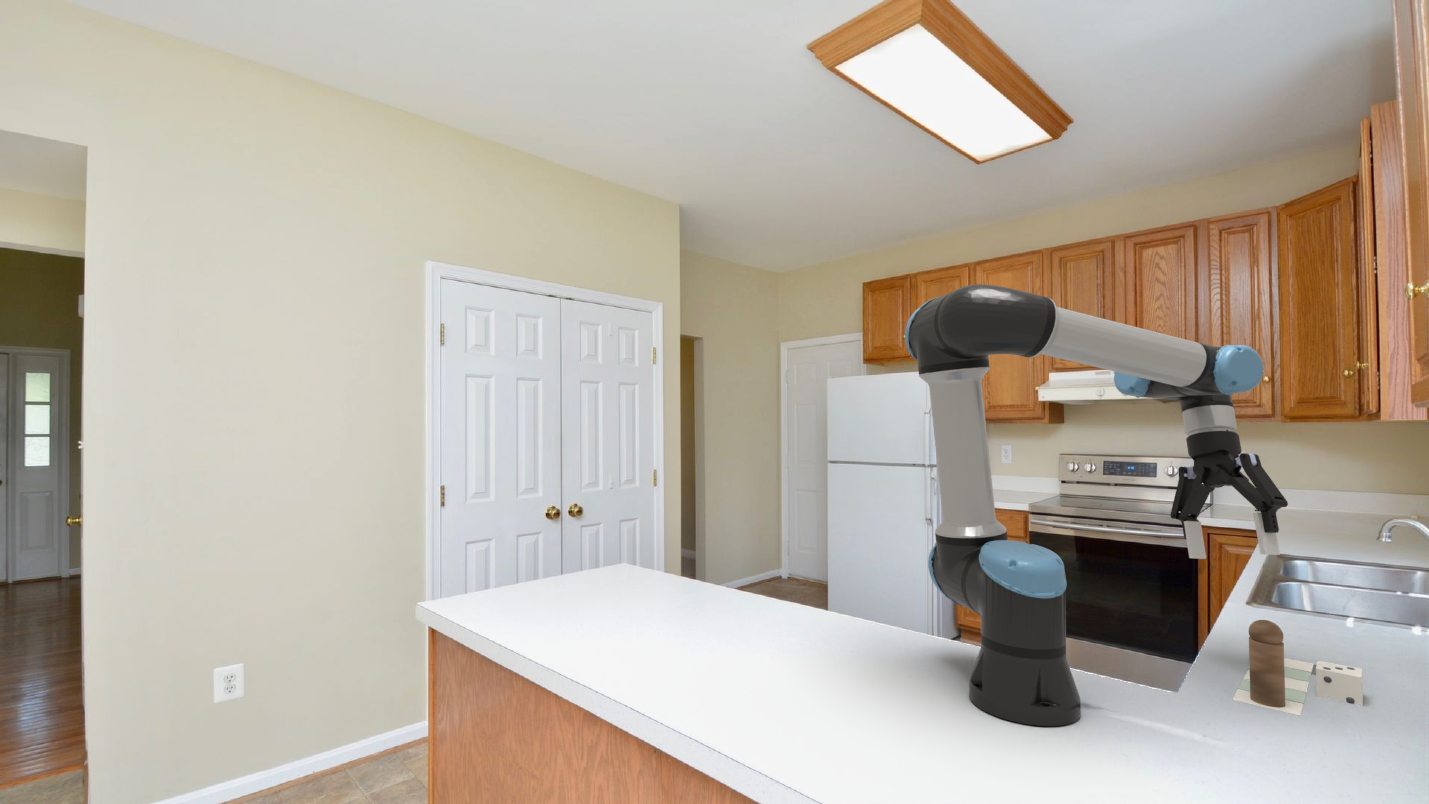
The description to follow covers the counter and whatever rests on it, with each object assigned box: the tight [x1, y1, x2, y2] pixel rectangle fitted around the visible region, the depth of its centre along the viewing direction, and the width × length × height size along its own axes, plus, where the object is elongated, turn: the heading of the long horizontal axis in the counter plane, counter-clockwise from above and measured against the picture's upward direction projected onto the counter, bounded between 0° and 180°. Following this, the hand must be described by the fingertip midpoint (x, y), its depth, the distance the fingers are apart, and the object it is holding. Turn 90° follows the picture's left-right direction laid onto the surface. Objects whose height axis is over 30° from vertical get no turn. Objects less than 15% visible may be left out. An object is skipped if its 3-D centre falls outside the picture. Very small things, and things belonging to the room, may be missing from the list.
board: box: [1232, 657, 1317, 717], centre depth 106 cm, size 8×30×1 cm, turn 135°
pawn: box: [1248, 619, 1285, 708], centre depth 98 cm, size 4×4×12 cm
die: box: [1315, 660, 1364, 707], centre depth 100 cm, size 5×5×5 cm
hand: (1232, 556), depth 110 cm, fingers open, 13 cm apart
